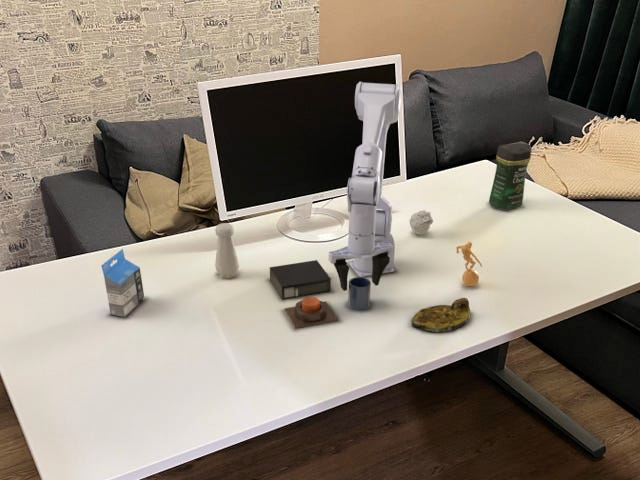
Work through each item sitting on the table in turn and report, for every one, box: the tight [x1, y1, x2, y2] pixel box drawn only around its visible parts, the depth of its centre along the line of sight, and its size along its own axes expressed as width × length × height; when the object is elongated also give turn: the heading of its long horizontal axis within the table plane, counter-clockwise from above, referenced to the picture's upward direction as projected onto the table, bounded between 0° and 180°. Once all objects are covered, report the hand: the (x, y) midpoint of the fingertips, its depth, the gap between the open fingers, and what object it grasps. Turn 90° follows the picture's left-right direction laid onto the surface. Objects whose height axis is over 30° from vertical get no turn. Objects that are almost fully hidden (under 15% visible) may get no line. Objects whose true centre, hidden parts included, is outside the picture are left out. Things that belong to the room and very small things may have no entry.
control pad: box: [283, 299, 339, 330], centre depth 163 cm, size 10×8×2 cm
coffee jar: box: [488, 141, 532, 211], centre depth 212 cm, size 10×8×19 cm
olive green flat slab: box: [411, 297, 471, 333], centre depth 162 cm, size 9×5×15 cm
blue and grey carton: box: [101, 248, 145, 318], centre depth 162 cm, size 9×4×12 cm, turn 163°
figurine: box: [456, 241, 483, 287], centre depth 173 cm, size 8×6×12 cm
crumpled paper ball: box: [409, 209, 434, 236], centre depth 198 cm, size 6×7×7 cm
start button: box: [301, 296, 321, 312], centre depth 162 cm, size 4×4×2 cm
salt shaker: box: [214, 222, 240, 279], centre depth 175 cm, size 6×6×13 cm
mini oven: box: [269, 259, 332, 301], centre depth 174 cm, size 12×11×4 cm
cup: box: [347, 276, 372, 311], centre depth 166 cm, size 5×5×6 cm
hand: (359, 286), depth 165 cm, fingers open, 7 cm apart
